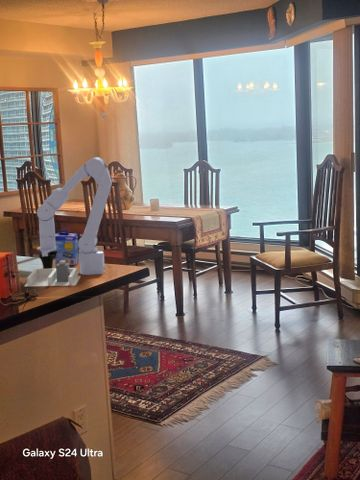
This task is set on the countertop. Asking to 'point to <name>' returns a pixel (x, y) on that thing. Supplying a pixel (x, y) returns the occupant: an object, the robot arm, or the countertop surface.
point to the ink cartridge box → (66, 247)
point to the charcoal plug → (62, 271)
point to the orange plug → (52, 264)
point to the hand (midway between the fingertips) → (49, 271)
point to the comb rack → (51, 278)
